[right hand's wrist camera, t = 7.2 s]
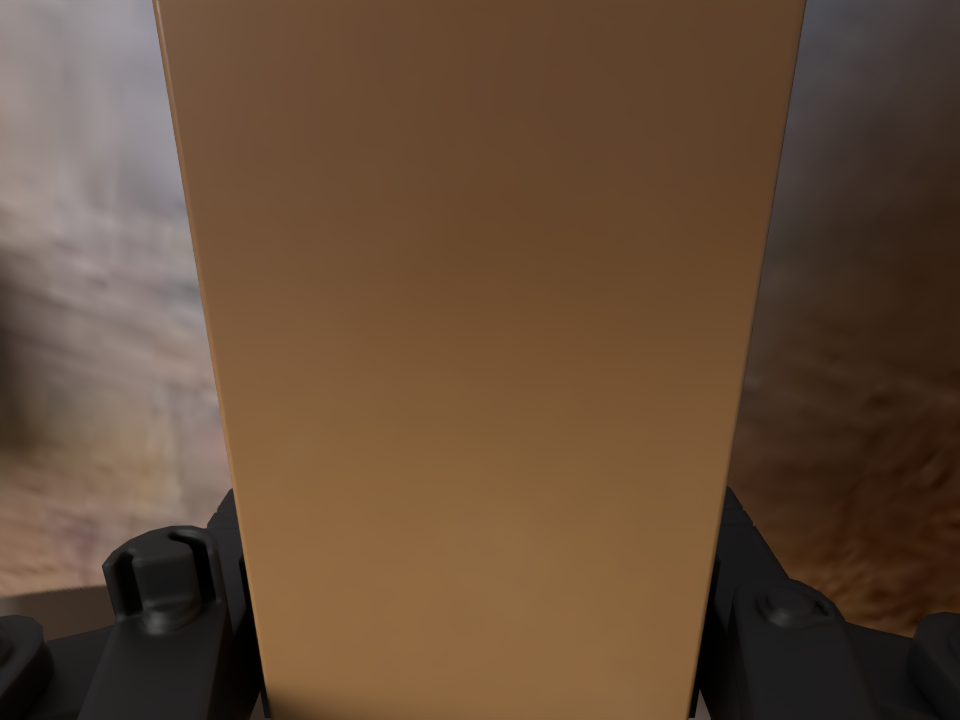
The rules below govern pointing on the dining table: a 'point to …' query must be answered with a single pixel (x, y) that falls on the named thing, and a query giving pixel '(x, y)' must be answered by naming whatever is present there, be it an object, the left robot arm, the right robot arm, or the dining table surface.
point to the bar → (479, 333)
